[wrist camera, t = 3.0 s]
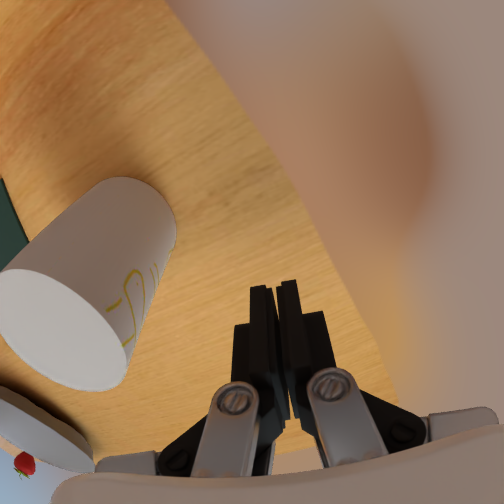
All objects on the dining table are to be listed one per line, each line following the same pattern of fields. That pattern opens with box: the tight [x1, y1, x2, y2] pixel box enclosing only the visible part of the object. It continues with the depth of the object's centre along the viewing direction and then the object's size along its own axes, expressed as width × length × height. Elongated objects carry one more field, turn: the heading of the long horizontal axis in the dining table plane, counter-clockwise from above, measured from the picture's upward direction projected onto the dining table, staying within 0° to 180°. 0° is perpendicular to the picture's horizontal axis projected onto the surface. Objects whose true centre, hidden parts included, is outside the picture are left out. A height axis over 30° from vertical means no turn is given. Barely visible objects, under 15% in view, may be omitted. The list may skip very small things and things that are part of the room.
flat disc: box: [0, 386, 96, 473], centre depth 40 cm, size 28×28×4 cm
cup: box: [0, 177, 177, 392], centre depth 18 cm, size 8×8×12 cm
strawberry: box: [14, 452, 35, 478], centre depth 50 cm, size 6×8×10 cm
